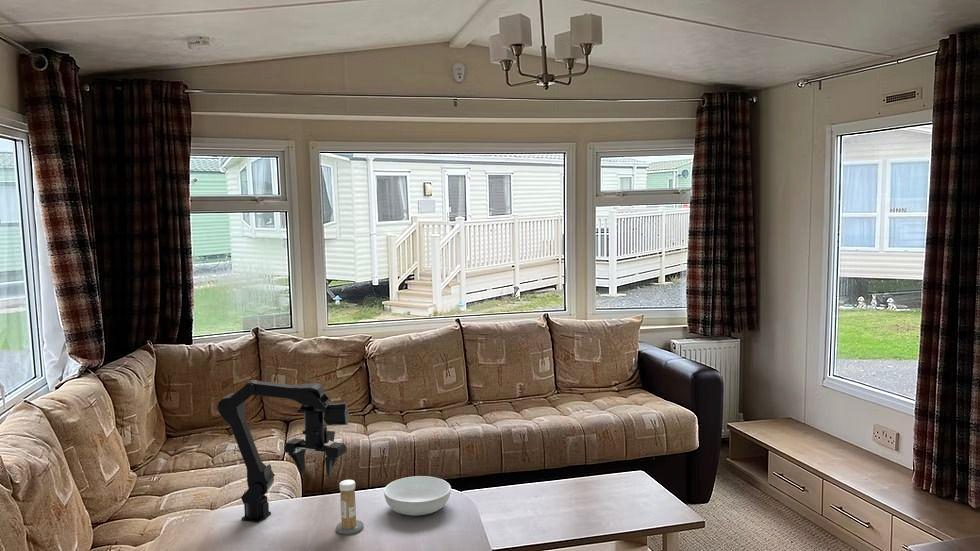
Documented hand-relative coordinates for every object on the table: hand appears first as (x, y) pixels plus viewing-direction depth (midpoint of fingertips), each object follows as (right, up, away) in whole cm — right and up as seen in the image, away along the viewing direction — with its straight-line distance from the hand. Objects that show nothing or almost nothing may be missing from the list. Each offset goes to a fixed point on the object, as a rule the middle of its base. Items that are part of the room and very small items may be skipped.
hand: (316, 474), depth 206 cm
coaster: (+12, -14, -8) cm, 20 cm away
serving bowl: (+31, -12, +5) cm, 34 cm away
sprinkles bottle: (+12, -13, -8) cm, 19 cm away
